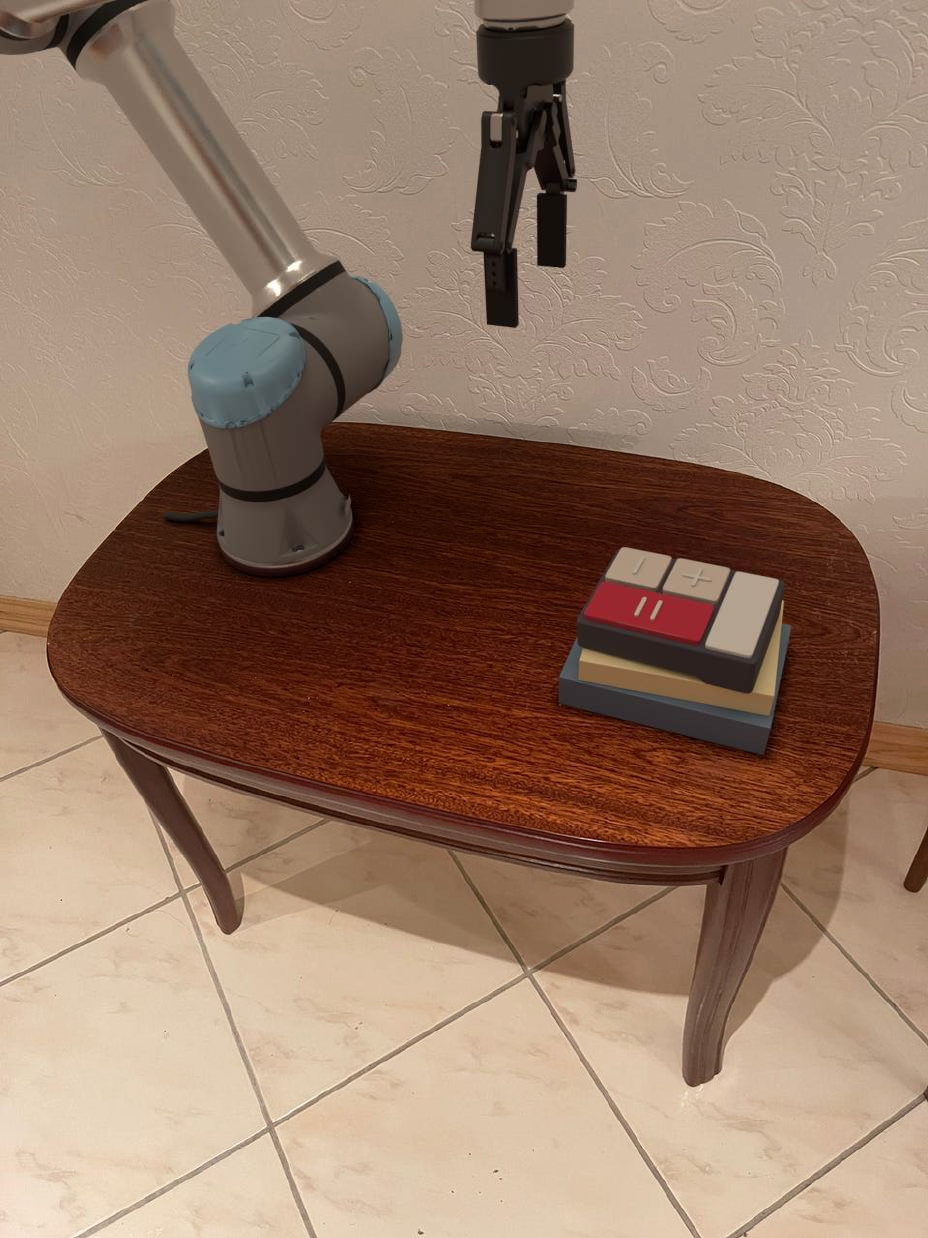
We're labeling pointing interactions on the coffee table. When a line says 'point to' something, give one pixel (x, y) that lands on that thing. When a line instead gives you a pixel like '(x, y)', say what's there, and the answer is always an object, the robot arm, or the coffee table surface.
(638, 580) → the calculator
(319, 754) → the coffee table surface
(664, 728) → the book stack
